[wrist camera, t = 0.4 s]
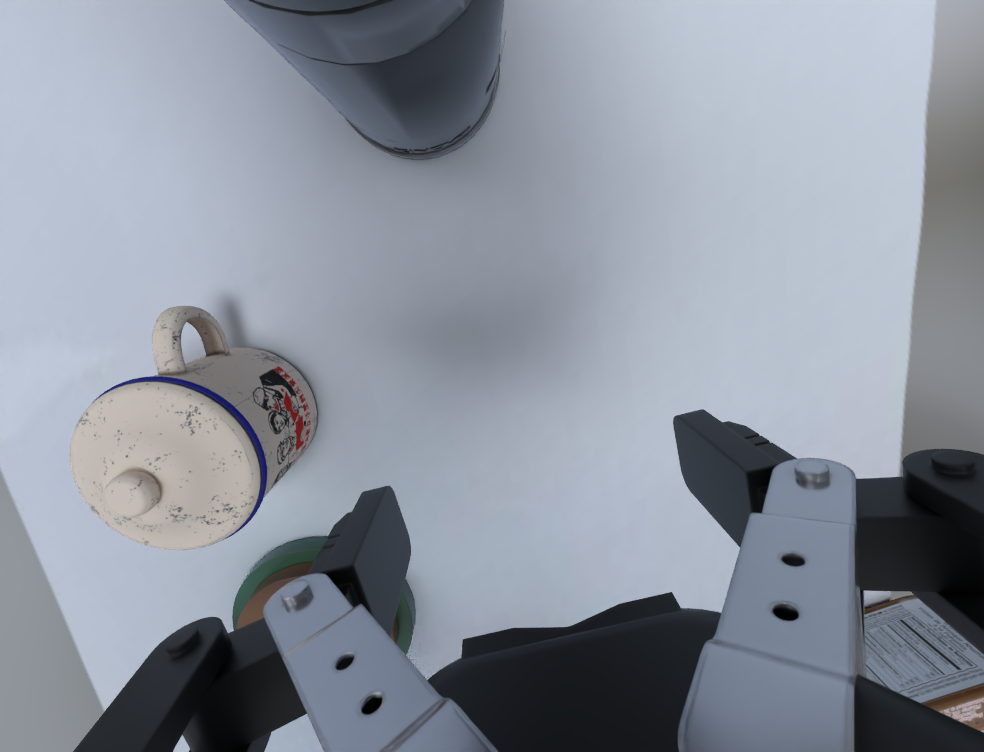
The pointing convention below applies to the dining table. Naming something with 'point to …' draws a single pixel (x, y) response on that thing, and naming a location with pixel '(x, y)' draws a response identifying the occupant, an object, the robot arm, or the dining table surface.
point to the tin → (924, 659)
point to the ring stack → (294, 564)
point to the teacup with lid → (191, 438)
